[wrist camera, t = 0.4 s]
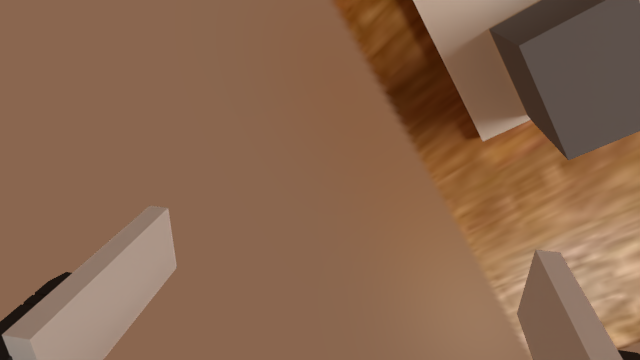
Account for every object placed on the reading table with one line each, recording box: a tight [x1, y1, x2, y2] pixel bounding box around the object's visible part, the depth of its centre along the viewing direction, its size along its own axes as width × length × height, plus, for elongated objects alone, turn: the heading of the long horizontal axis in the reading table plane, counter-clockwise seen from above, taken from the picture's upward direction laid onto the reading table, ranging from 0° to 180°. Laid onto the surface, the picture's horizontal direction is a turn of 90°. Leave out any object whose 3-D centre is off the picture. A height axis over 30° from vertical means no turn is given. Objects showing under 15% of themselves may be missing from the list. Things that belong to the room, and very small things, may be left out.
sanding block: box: [488, 0, 640, 160], centre depth 29 cm, size 8×6×10 cm
